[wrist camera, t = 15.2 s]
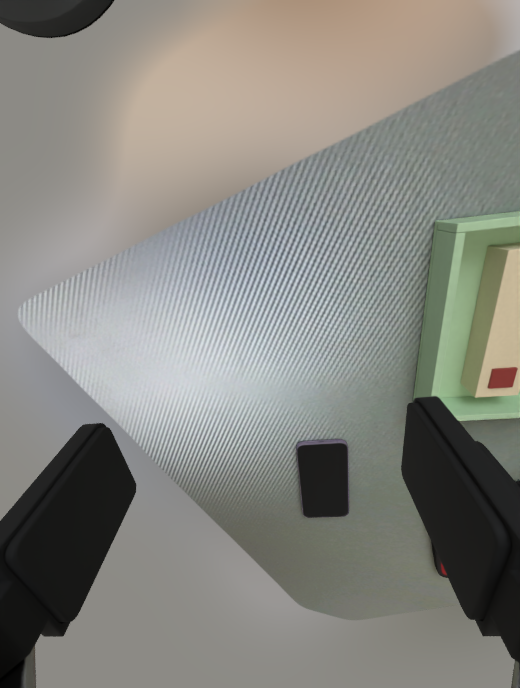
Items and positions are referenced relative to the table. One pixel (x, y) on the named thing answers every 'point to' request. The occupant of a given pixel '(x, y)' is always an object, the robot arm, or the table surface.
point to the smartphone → (323, 477)
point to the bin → (459, 313)
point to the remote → (496, 327)
